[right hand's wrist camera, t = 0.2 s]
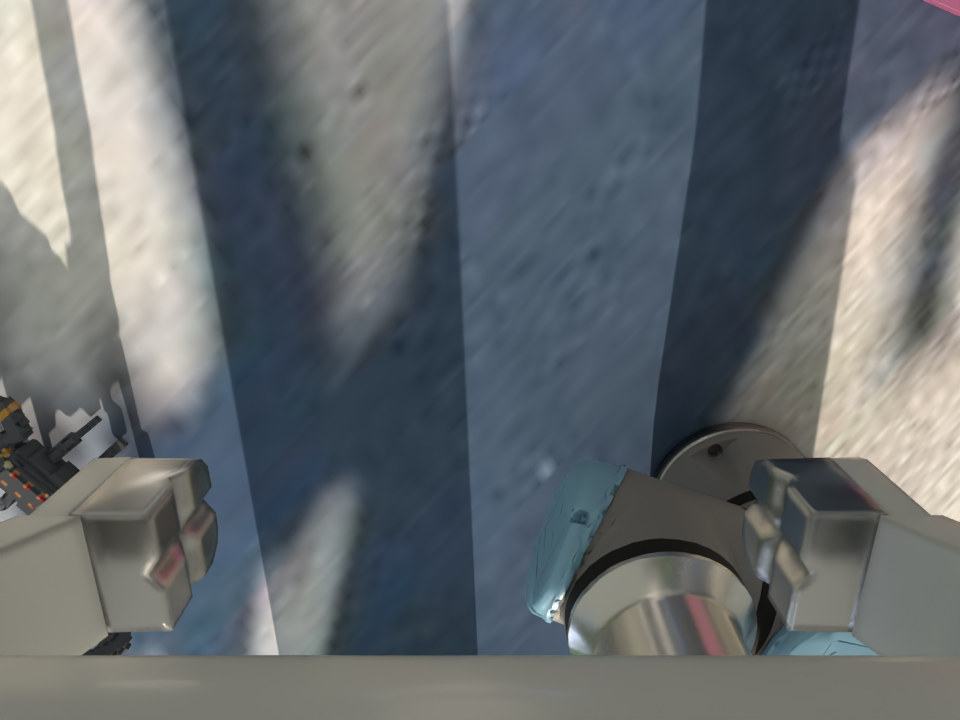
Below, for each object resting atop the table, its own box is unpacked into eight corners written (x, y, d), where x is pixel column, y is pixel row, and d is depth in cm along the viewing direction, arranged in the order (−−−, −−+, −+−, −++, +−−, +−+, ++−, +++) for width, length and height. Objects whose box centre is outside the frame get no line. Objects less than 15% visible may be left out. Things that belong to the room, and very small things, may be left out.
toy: (133, 599, 69) (19, 759, 52) (-85, 416, 62) (-301, 532, 45) (224, 531, 66) (134, 677, 49) (6, 331, 59) (-189, 420, 42)
